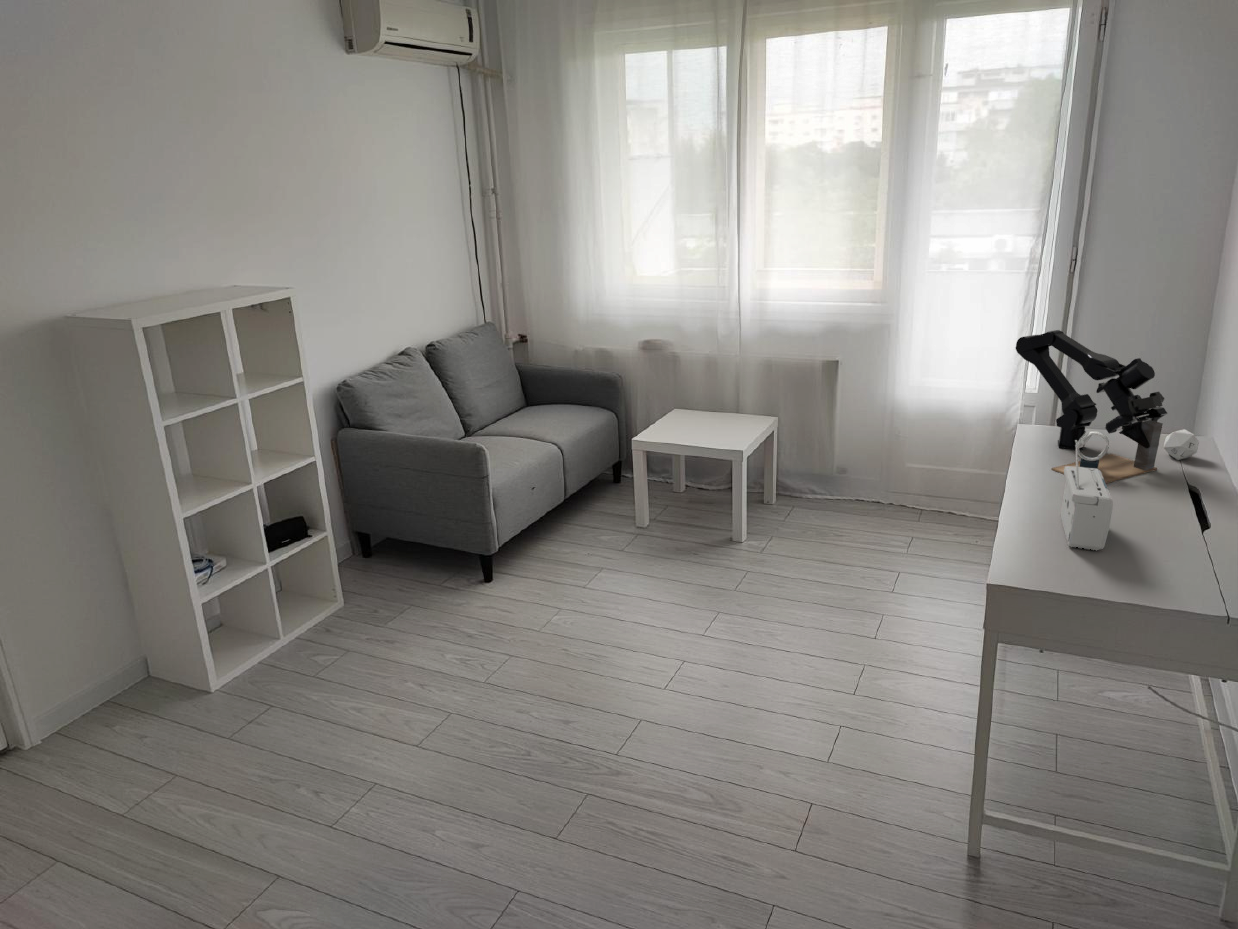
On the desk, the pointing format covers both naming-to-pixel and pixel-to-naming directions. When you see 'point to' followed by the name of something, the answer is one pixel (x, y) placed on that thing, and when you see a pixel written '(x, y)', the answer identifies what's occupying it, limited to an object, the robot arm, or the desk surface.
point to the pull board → (1124, 467)
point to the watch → (1086, 460)
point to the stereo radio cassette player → (1085, 507)
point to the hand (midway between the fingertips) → (1152, 446)
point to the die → (1181, 444)
